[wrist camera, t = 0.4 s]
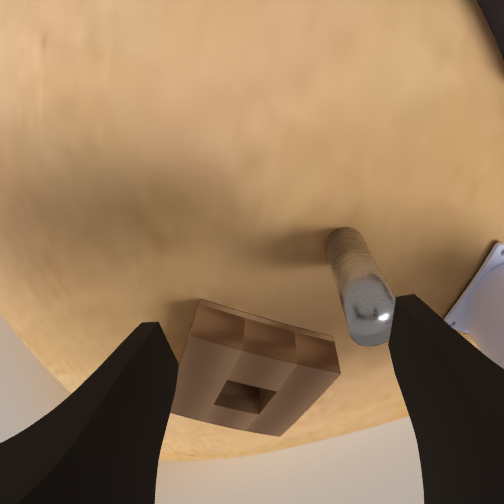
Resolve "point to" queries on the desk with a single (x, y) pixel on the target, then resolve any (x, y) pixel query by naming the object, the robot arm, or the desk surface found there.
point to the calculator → (495, 19)
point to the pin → (360, 287)
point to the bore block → (251, 371)
